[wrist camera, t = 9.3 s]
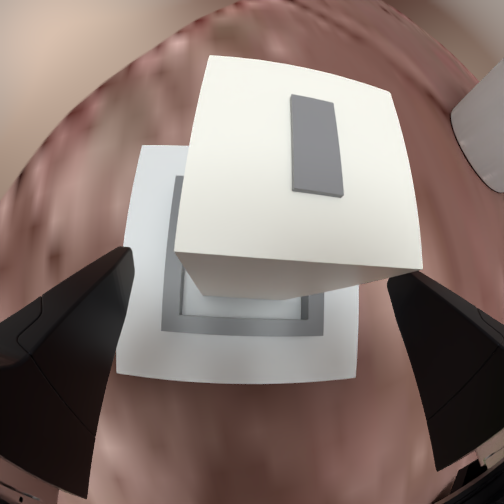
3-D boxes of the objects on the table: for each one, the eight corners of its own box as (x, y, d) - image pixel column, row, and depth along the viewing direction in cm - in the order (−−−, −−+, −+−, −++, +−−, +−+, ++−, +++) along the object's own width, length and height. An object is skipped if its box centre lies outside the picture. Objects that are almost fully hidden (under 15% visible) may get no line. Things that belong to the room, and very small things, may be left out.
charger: (282, 300, 18) (427, 268, 5) (202, 295, 17) (173, 249, 5) (284, 224, 19) (392, 89, 6) (209, 218, 18) (209, 51, 6)
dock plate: (348, 374, 19) (365, 381, 16) (122, 369, 17) (108, 377, 14) (343, 171, 22) (358, 155, 19) (145, 153, 20) (138, 133, 17)
